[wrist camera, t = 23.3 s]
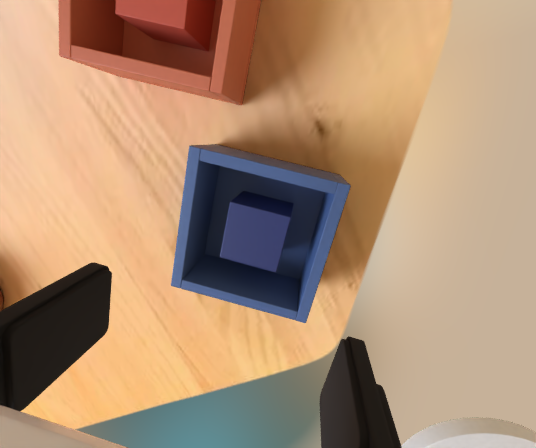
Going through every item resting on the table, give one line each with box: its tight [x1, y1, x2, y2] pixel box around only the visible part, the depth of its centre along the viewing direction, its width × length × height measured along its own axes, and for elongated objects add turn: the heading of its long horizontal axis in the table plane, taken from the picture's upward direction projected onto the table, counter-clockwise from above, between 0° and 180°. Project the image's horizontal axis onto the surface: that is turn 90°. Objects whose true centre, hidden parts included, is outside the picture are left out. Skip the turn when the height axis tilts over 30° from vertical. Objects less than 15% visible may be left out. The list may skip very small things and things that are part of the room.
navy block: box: [220, 191, 294, 272], centre depth 22 cm, size 4×4×4 cm
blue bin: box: [171, 144, 351, 323], centre depth 22 cm, size 11×11×6 cm
